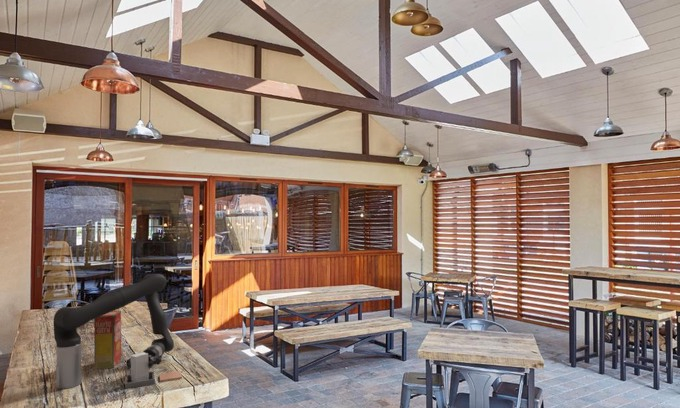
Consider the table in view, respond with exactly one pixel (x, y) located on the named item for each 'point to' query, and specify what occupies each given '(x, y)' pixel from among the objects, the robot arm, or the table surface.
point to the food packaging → (107, 340)
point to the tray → (139, 383)
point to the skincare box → (139, 367)
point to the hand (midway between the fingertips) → (138, 365)
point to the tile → (170, 376)
